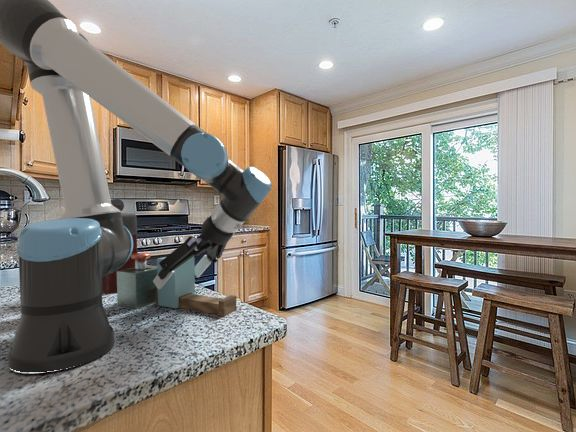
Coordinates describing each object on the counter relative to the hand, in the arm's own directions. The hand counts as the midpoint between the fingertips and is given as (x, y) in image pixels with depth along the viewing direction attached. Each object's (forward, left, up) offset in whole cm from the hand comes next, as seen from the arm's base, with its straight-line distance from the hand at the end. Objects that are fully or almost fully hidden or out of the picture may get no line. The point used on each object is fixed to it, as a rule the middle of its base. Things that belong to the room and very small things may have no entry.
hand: (177, 279), depth 83 cm
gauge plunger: (-1, +10, 0) cm, 10 cm away
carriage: (0, 0, -6) cm, 7 cm away
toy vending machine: (+11, +27, -7) cm, 30 cm away
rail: (-2, -6, -6) cm, 9 cm away
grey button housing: (-1, +10, -6) cm, 12 cm away
